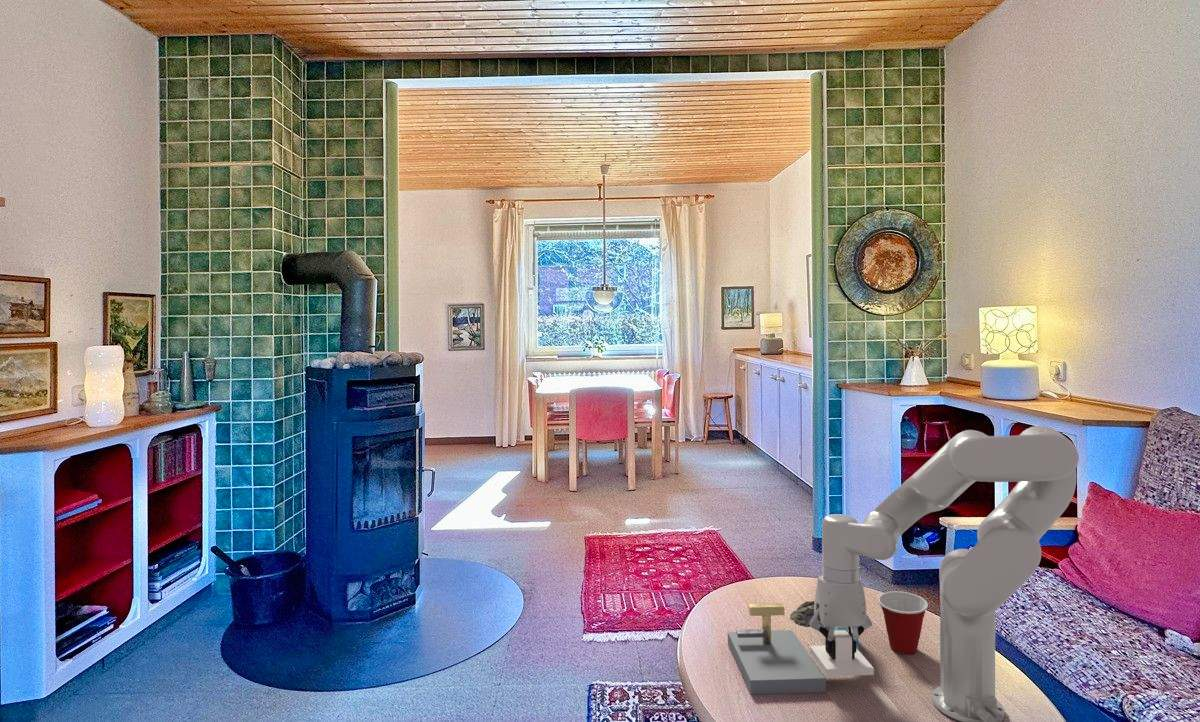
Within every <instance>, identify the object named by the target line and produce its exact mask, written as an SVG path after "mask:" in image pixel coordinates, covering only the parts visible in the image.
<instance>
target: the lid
mask: <svg viewBox="0 0 1200 722" xmlns="http://www.w3.org/2000/svg"><path fill="white" fill-rule="evenodd" d="M834 641H835V657H836V658H835V659H832V658H831V657H830V656H829V654H828V653H827V652H826V649H825V645H810V646H809V654H810V656H811V657H812V658H813V660H815V663H817V664H818V665H817V666H818V667H819V668H820V670H821V671H823V672H822V673H824V674H825V677H844V676H845V677H847V676H849V677H850V676H851V677H853V676H874V675H875V668H874V667H873V666H872V664H871V662H869V660H867V658H866V657H865V656H864V655H863V653H862V652H861V651H860V649H859V650H858V649H857V648H856V653H855V659H852V637H851V636H850V635H849V634H848V633H847V632H846V630H834Z"/></svg>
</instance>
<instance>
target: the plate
mask: <svg viewBox="0 0 1200 722" xmlns="http://www.w3.org/2000/svg"><path fill="white" fill-rule="evenodd" d="M727 645H728V648H729V650H730V652H731V654H732V656H733V658H734V661H735V663H736V665H737V667H738V669H739V671H740V674H741V676H742V678H743V680H744V682H745V684H746V687H747V690H748V691H749V694H750V695H773V694H776V695H777V694H804V693H805V694H807V693H808V694H809V693H826V692H827V679H826V675H824V674H823V673H824V672H822V670H821V668H820V667H819V665H817V664H816V663H817V662H816V661H814V658H813V657H812V655H811V654H810V652H808V651H807V650H806V648H805V646H804V645H803V644H802V642H801V641H800V639H799V637H797V635H796V634H795V631H793V630H792V629H787V630H785V629H784V630H771V643H770V644H765V643H763V642H762V637H757V638H738V637H737V634H736V631H727Z"/></svg>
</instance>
